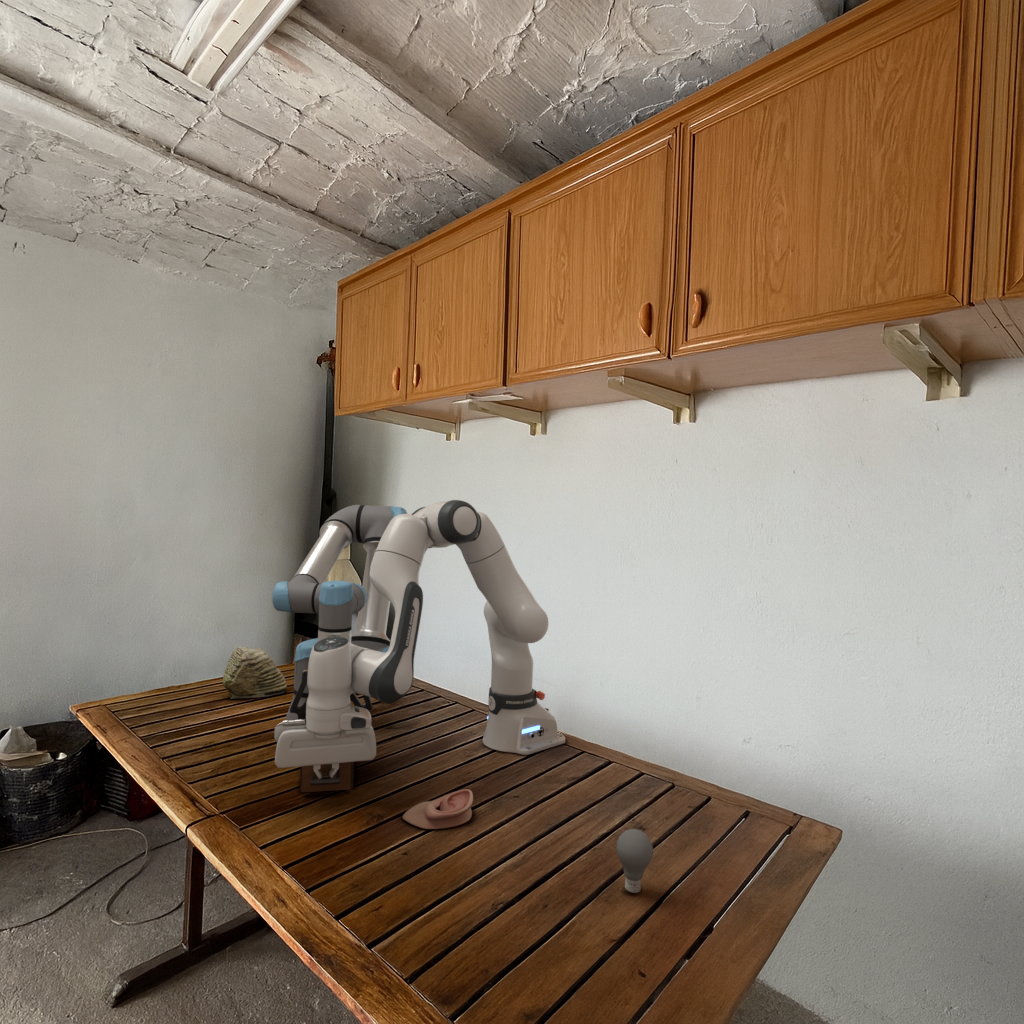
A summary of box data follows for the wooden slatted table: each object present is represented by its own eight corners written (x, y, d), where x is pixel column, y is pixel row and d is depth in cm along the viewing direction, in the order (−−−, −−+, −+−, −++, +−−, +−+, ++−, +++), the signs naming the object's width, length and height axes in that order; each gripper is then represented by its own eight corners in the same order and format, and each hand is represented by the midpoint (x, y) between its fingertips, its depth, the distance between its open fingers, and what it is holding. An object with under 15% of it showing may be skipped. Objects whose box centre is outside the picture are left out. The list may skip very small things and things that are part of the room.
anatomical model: (397, 804, 123) (417, 779, 135) (396, 824, 123) (417, 798, 135) (462, 814, 121) (478, 788, 132) (462, 835, 121) (477, 807, 132)
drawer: (349, 801, 130) (351, 758, 130) (299, 804, 128) (300, 760, 128) (351, 761, 150) (353, 723, 150) (307, 763, 148) (309, 725, 147)
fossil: (218, 695, 195) (220, 647, 195) (278, 685, 208) (279, 640, 207) (228, 703, 189) (230, 653, 188) (289, 692, 201) (290, 645, 201)
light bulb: (610, 879, 108) (613, 822, 108) (644, 879, 109) (647, 822, 109) (619, 902, 102) (622, 840, 102) (655, 901, 103) (658, 840, 103)
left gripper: (279, 652, 142) (275, 749, 142) (386, 651, 147) (382, 744, 147) (283, 644, 149) (279, 736, 149) (385, 643, 154) (381, 732, 155)
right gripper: (274, 726, 125) (271, 795, 125) (379, 719, 132) (376, 785, 132) (275, 715, 131) (272, 781, 131) (375, 709, 138) (372, 772, 138)
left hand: (330, 740), depth 148 cm, fingers closed on cabinet, 11 cm apart
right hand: (325, 783), depth 132 cm, fingers closed
